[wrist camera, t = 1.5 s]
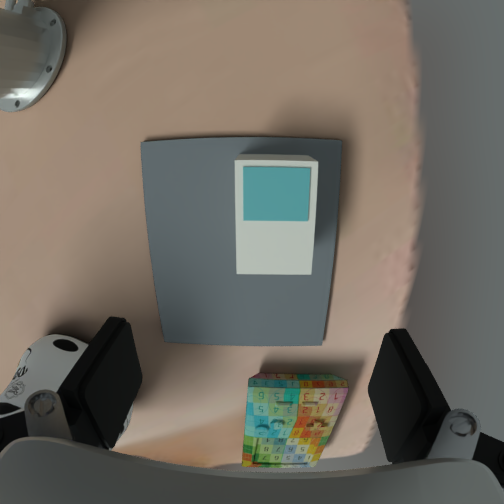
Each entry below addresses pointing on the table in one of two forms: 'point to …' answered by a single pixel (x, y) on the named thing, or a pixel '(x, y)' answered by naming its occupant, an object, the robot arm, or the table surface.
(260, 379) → the puzzle game
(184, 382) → the table surface
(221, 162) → the mat
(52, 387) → the milk container
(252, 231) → the card box
